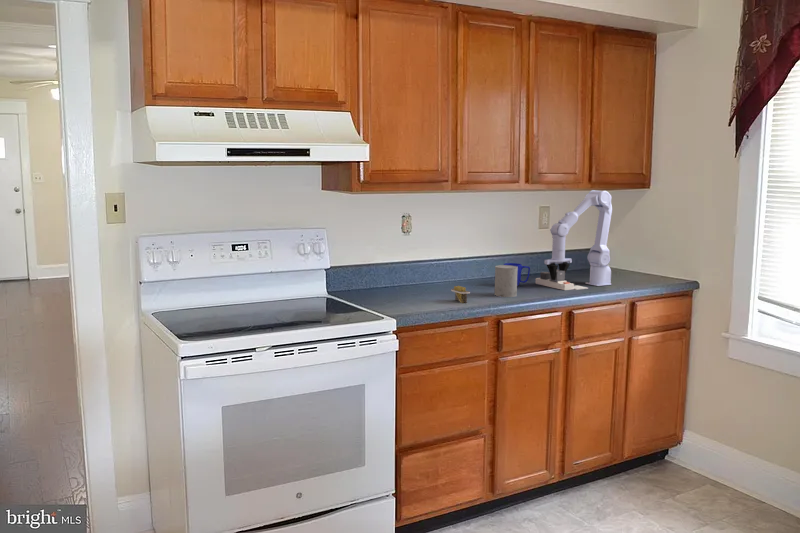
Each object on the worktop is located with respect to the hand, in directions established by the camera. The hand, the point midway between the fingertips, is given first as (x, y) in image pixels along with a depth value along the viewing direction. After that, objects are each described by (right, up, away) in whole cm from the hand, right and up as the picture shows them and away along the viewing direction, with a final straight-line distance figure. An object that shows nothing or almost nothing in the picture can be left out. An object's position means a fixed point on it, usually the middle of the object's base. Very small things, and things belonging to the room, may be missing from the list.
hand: (557, 279), depth 312 cm
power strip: (-1, -3, +2) cm, 4 cm away
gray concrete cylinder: (-27, -7, -21) cm, 35 cm away
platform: (-48, -9, -36) cm, 61 cm away
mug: (-18, -3, +3) cm, 19 cm away
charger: (0, -1, 0) cm, 1 cm away
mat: (+9, -4, -2) cm, 10 cm away
